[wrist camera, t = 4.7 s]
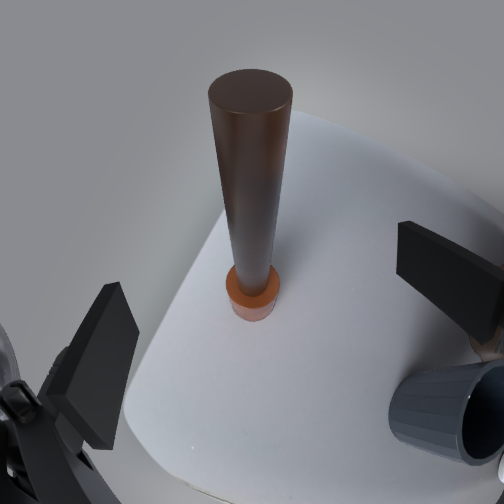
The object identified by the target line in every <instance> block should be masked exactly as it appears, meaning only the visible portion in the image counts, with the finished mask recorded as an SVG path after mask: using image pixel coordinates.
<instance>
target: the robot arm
mask: <svg viewBox="0 0 504 504" xmlns="http://www.w3.org/2000/svg"><path fill="white" fill-rule="evenodd" d="M396 274H397V275H399V276H400V277H401V278H402V279H404V280H405V281H406V282H408V283H409V284H410V285H411V286H413V287H414V288H415V289H416V290H418V291H419V292H420V293H421V294H422V295H424V296H425V297H426V298H427V299H429V300H430V301H431V302H432V303H433V304H435V305H436V306H437V307H438V308H439V309H441V310H442V311H443V312H444V313H445V314H446V315H448V316H449V317H450V318H451V319H452V320H453V321H455V322H456V323H457V324H458V325H459V326H460V327H461V328H463V329H464V330H465V331H466V332H467V333H468V334H469V335H470V336H472V337H473V338H474V339H475V340H476V341H477V342H478V343H479V344H480V345H481V346H483V345H484V344H486V343H487V342H489V341H490V340H492V339H493V338H494V335H495V332H496V329H497V327H498V326H499V327H501V328H502V332H501V334H500V337H499V340H498V342H497V345H496V347H495V352H494V353H497V351H498V349H499V347H501V346H502V348H501V351H500V353H502V354H503V358H504V270H502V269H501V268H499V267H497V266H496V265H494V264H492V263H490V262H489V261H487V260H485V259H483V258H482V257H480V256H478V255H476V254H474V253H473V252H471V251H469V250H467V249H465V248H463V247H462V246H460V245H458V244H456V243H454V242H452V241H450V240H448V239H446V238H444V237H442V236H440V235H438V234H436V233H434V232H432V231H430V230H428V229H426V228H424V227H422V226H420V225H418V224H416V223H414V222H412V221H405V222H400V223H398V246H397V268H396ZM138 336H139V330H138V327H137V325H136V323H135V320H134V318H133V316H132V313H131V311H130V308H129V306H128V303H127V301H126V298H125V296H124V293H123V290H122V288H121V285H120V282H115V283H110V284H106V285H104V286H103V288H102V290H101V291H100V293H99V294H98V296H97V298H96V299H95V301H94V303H93V304H92V306H91V308H90V310H89V311H88V313H87V315H86V316H85V318H84V320H83V322H82V323H81V325H80V327H79V329H78V330H77V332H76V334H75V336H74V338H73V340H72V341H71V343H70V345H69V347H65V348H64V349H63V350H62V351H61V353H60V354H59V355H58V356H57V358H56V359H55V361H54V363H53V367H51V369H50V371H49V375H47V377H46V379H45V381H44V383H43V385H42V387H41V389H40V391H39V393H38V395H37V397H36V396H35V394H34V393H33V392H32V390H31V389H30V388H29V386H28V385H27V384H26V382H25V381H23V380H14V381H12V382H10V383H8V384H7V385H6V386H4V387H3V388H2V390H1V391H0V409H1V410H2V411H3V412H4V414H5V415H6V416H7V417H8V418H9V419H8V420H3V421H2V420H1V419H0V504H121V503H120V501H119V500H118V499H117V498H116V496H115V495H114V493H113V492H112V491H111V489H110V488H109V486H108V485H107V484H106V482H105V481H104V479H103V478H102V476H101V475H100V473H99V472H98V470H97V469H96V467H95V466H94V464H93V463H92V461H91V459H90V458H89V456H88V454H87V453H86V452H85V451H84V450H83V449H82V445H83V441H84V440H85V441H86V442H87V443H88V444H89V445H90V446H91V447H92V448H93V449H99V450H113V445H114V439H115V434H116V429H117V424H118V419H119V414H120V409H121V405H122V400H123V395H124V391H125V387H126V383H127V378H128V374H129V370H130V366H131V363H132V359H133V355H134V350H135V347H136V343H137V340H138ZM7 467H8V468H10V469H11V470H12V471H13V477H11V476H10V475H9V474H8V472H7ZM496 504H504V490H503V493H502V495H501V496H500V498H499V500H498V501H497V503H496Z"/></svg>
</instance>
